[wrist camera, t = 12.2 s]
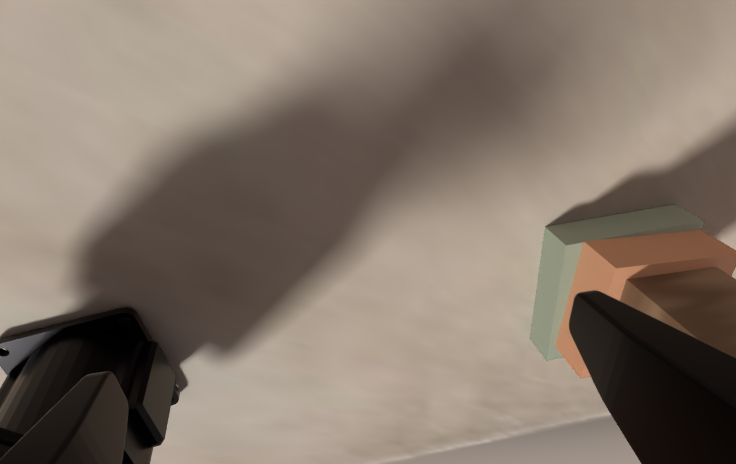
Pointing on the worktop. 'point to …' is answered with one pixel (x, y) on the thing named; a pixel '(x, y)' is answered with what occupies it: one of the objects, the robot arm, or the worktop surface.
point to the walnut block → (689, 303)
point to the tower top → (637, 270)
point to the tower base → (564, 255)
